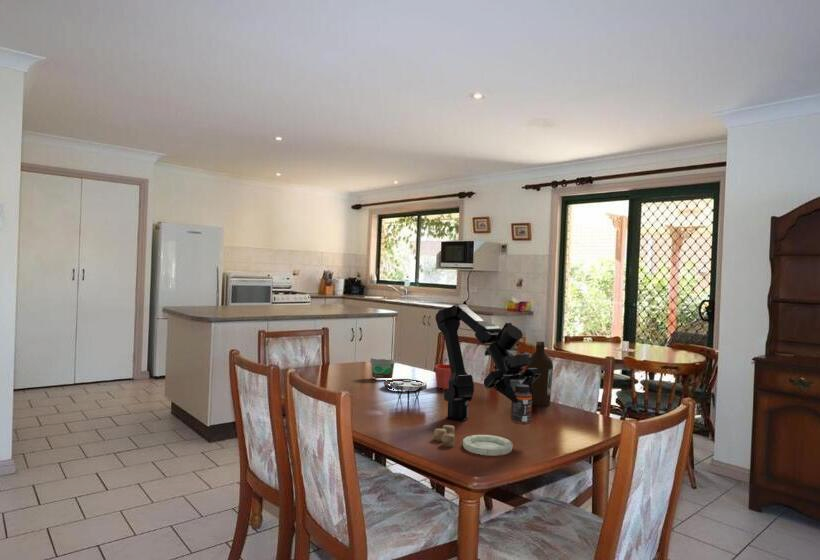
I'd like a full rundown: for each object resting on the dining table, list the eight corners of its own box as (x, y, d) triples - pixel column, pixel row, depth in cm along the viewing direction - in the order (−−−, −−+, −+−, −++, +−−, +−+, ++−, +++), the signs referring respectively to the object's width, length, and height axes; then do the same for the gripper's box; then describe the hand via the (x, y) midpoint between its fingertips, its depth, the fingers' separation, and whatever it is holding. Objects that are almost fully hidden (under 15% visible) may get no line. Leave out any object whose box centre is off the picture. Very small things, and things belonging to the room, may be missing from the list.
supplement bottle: (530, 426, 161) (532, 388, 161) (510, 424, 163) (511, 386, 162) (531, 421, 167) (532, 384, 167) (511, 419, 168) (512, 382, 168)
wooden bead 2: (441, 436, 170) (441, 427, 170) (444, 433, 174) (445, 424, 174) (452, 438, 169) (452, 428, 169) (455, 435, 172) (455, 425, 172)
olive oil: (523, 404, 217) (525, 342, 217) (526, 399, 227) (528, 339, 227) (550, 407, 214) (553, 343, 214) (552, 402, 224) (554, 341, 224)
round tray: (457, 451, 157) (457, 444, 157) (470, 438, 170) (471, 432, 170) (505, 458, 151) (506, 452, 151) (515, 444, 164) (516, 438, 164)
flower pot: (459, 391, 240) (460, 368, 240) (434, 389, 240) (435, 367, 240) (458, 386, 251) (458, 364, 250) (434, 385, 251) (434, 364, 251)
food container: (366, 380, 257) (367, 359, 257) (369, 378, 263) (370, 357, 263) (392, 382, 255) (393, 360, 255) (395, 379, 261) (395, 358, 261)
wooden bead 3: (445, 447, 160) (445, 437, 160) (440, 443, 163) (440, 433, 163) (456, 446, 161) (456, 436, 161) (451, 443, 164) (452, 433, 164)
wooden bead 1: (434, 441, 165) (434, 431, 165) (434, 437, 169) (434, 428, 169) (446, 441, 165) (446, 432, 165) (445, 438, 169) (446, 428, 169)
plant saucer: (392, 394, 229) (392, 387, 229) (377, 386, 245) (377, 379, 245) (430, 392, 236) (430, 385, 236) (413, 384, 252) (413, 377, 252)
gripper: (491, 344, 163) (514, 389, 154) (537, 342, 173) (562, 384, 163) (474, 366, 170) (495, 410, 161) (520, 363, 179) (542, 404, 170)
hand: (524, 401), depth 164 cm, fingers closed on supplement bottle, 6 cm apart
